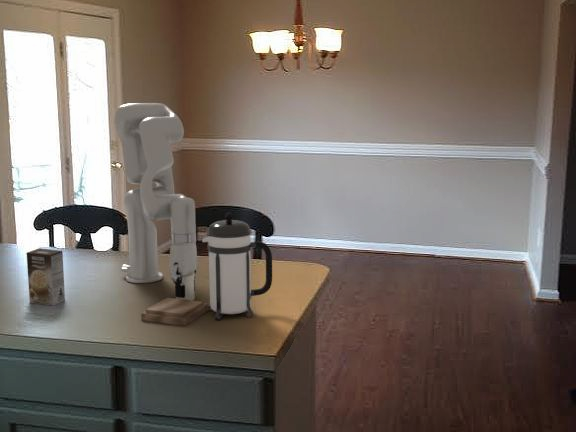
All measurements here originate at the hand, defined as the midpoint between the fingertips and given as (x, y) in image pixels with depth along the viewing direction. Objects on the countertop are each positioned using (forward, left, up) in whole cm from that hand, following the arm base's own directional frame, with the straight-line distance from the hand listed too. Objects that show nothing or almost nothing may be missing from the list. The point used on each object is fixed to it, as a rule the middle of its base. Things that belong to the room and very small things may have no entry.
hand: (185, 293), depth 217 cm
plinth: (+5, -15, -2) cm, 16 cm away
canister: (0, 0, -2) cm, 2 cm away
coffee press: (+20, -7, -2) cm, 21 cm away
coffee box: (-39, -17, -2) cm, 43 cm away
